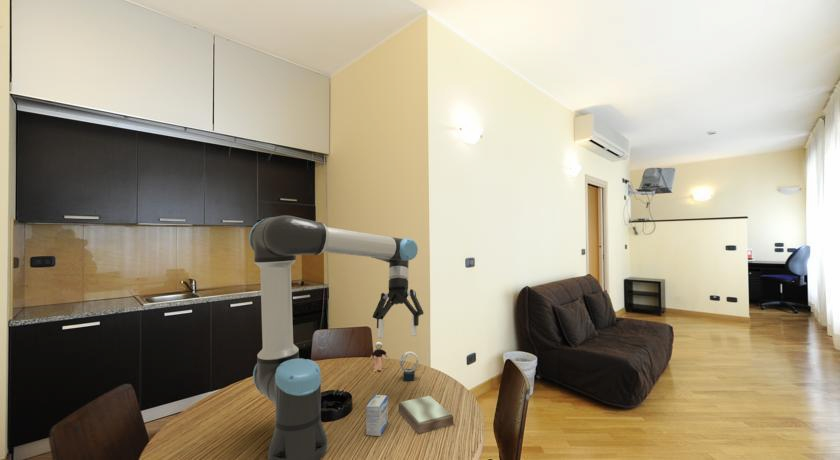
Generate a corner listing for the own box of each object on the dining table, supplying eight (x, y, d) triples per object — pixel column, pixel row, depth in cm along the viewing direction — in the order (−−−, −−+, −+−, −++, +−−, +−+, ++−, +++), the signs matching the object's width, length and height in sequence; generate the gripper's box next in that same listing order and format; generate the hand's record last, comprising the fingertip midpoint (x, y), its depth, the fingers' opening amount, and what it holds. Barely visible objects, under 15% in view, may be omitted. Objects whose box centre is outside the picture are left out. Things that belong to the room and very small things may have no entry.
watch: (399, 376, 148) (399, 350, 148) (418, 376, 147) (418, 350, 148) (398, 381, 142) (398, 354, 143) (418, 381, 142) (417, 354, 142)
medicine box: (380, 437, 101) (380, 406, 102) (365, 435, 102) (365, 405, 103) (388, 423, 109) (388, 395, 109) (374, 422, 110) (374, 394, 110)
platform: (418, 433, 103) (418, 423, 103) (398, 410, 117) (398, 401, 117) (453, 424, 108) (453, 414, 108) (430, 403, 122) (430, 394, 122)
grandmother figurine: (372, 373, 151) (372, 344, 152) (369, 370, 155) (369, 341, 155) (388, 370, 155) (388, 341, 156) (385, 367, 159) (385, 339, 159)
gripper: (432, 278, 132) (432, 335, 123) (376, 285, 142) (373, 339, 133) (423, 272, 126) (423, 333, 117) (366, 281, 136) (362, 337, 127)
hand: (396, 336), depth 125 cm, fingers open, 13 cm apart
